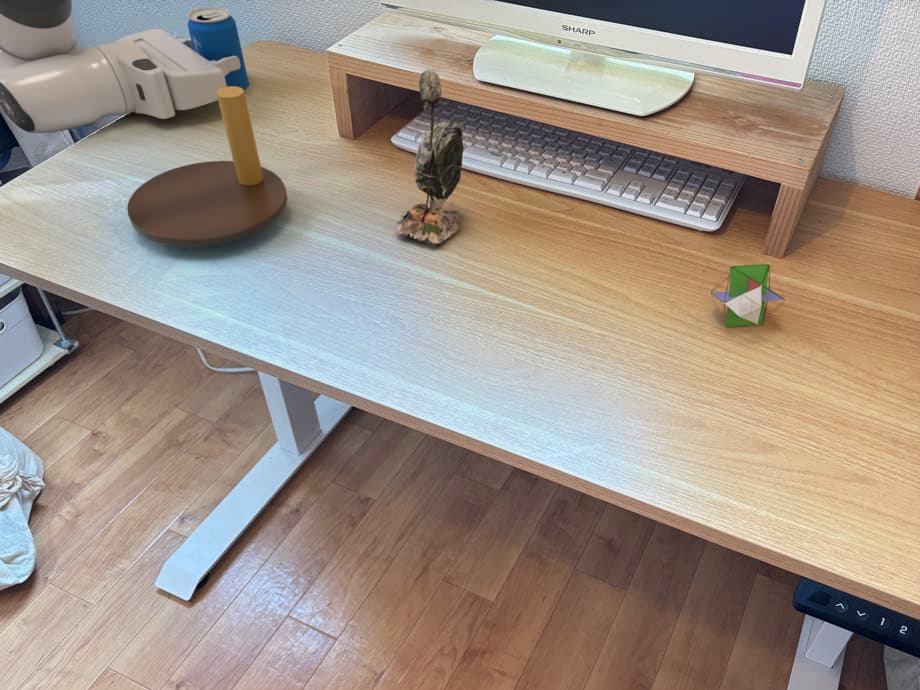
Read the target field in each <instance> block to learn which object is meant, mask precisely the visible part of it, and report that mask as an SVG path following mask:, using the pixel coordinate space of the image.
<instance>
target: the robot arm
mask: <svg viewBox="0 0 920 690" xmlns="http://www.w3.org/2000/svg"><path fill="white" fill-rule="evenodd" d="M72 4H73V3H72V0H0V107H1V109H2V111H3V112H4V114H5V115H6V116H7V117H8V119H9V120H10V121H11V122H12V123H13V124H14V125H16V127H18V128H19V129H21V130H23V131H24V132H27V133H29V134H50V133H59V132H63V131H67V130H68V131H69V130H72V129H77V128H80V127H85V126H88V125H92V124H94V123H95V122H98V120H100V119H103V118H105V117H109V116H110V117H111V116H125V115H129V114H132V113H135V114H140V115H141V114H142V115H147V116H152V117H154V118H157V119H159V120H160V119H161V120H166V119H170V118H172V117H175V116H176V111H175V110H177V111H187V110H191V109H192V110H193V109H196V108H198V107H201V106H205V105H208V104H211V103H214V102H218V98H217V94H216V92H217V91H218V90H219V89H221V88H224V87H227V85H226V81H225V76H226V75H227V74H228V73H229V72H230V71H234V70H238V69H240V67H241V65H240V61H239V58H238V57H237V56H235V55H233V54H229V55H224V56H222V59H220V60H218V61H215V60H213V61H208V60H207V59H205V58H204V57H202V56H201V55H199V54H198V53H196V52H195V51H194V48H193V45H192V41H191V38H178V39H177V38H176V37H175V36H173V35H171V34H170V33H168V32H167V31H165V30H164V29H162V28H150V29H146V30H143V31H138V32H136V33H131V34H129V35H126V36H123V37H121V38H119V39H117V40H116V41H112V42H107V43H103V44H99V45H94V46H91V47H88V48H87V49H84V48H82V47H80V46H79V44H78V41H77V32H76V25H75V22H74V21H75V20H74V17H73V11H72V9H73V8H72V7H73V6H72Z"/></svg>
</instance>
